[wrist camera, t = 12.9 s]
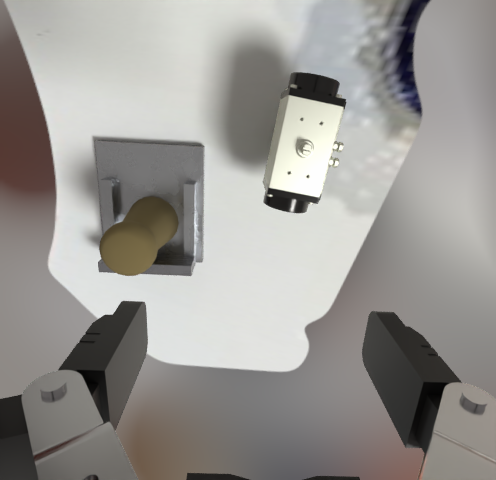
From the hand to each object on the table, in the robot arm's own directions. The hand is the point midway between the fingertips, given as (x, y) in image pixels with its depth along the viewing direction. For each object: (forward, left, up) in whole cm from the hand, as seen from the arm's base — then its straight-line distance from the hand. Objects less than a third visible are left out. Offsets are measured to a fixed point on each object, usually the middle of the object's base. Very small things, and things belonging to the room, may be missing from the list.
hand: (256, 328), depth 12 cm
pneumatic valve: (-5, +5, -30) cm, 31 cm away
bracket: (+3, -11, -30) cm, 32 cm away
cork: (+5, -11, -29) cm, 32 cm away
